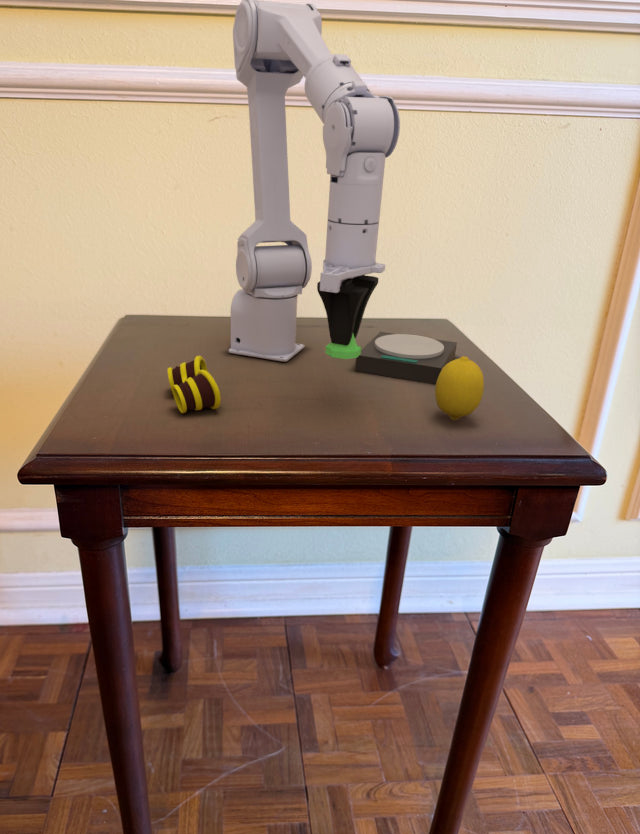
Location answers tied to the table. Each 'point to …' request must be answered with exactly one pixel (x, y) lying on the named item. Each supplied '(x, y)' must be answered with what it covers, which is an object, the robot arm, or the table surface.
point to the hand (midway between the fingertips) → (343, 340)
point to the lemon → (459, 388)
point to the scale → (406, 356)
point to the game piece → (344, 350)
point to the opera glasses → (193, 386)
